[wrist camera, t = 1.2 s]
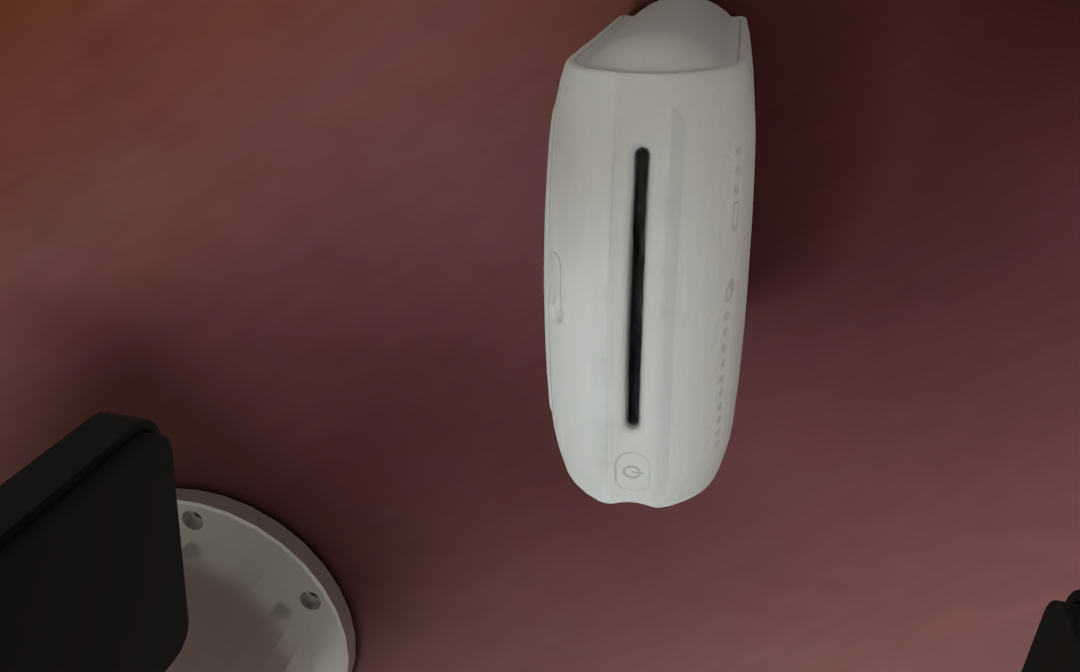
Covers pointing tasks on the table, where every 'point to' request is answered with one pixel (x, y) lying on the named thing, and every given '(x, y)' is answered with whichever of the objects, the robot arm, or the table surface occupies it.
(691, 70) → the photo printer
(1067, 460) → the table surface
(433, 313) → the table surface
